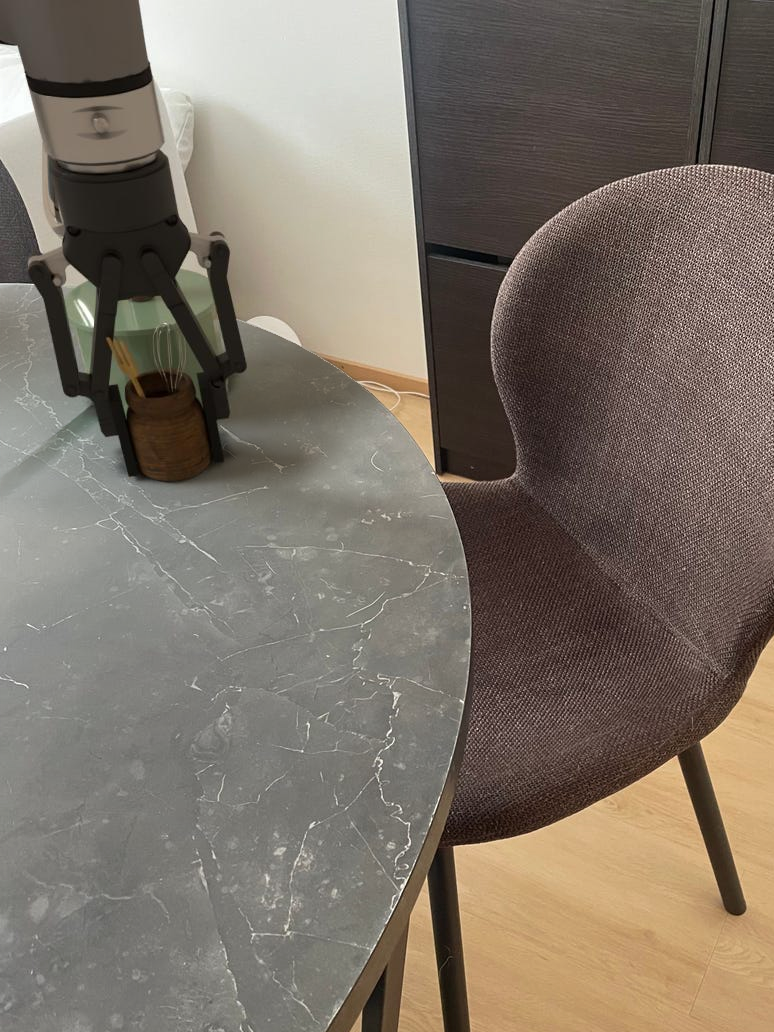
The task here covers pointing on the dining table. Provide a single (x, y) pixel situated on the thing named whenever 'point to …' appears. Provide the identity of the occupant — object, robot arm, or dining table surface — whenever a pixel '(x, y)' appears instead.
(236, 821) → the dining table surface
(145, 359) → the pot
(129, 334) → the pot lid
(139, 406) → the utensil holder
